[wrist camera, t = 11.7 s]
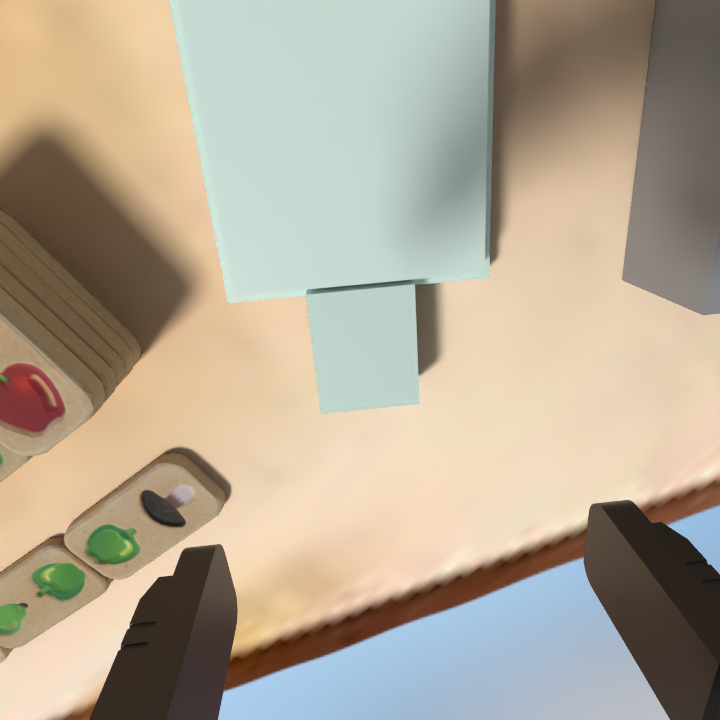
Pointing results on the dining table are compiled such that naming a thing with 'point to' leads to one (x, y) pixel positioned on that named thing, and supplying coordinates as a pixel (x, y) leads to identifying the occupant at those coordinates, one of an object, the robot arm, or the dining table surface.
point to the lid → (345, 166)
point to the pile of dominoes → (58, 420)
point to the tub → (679, 161)
